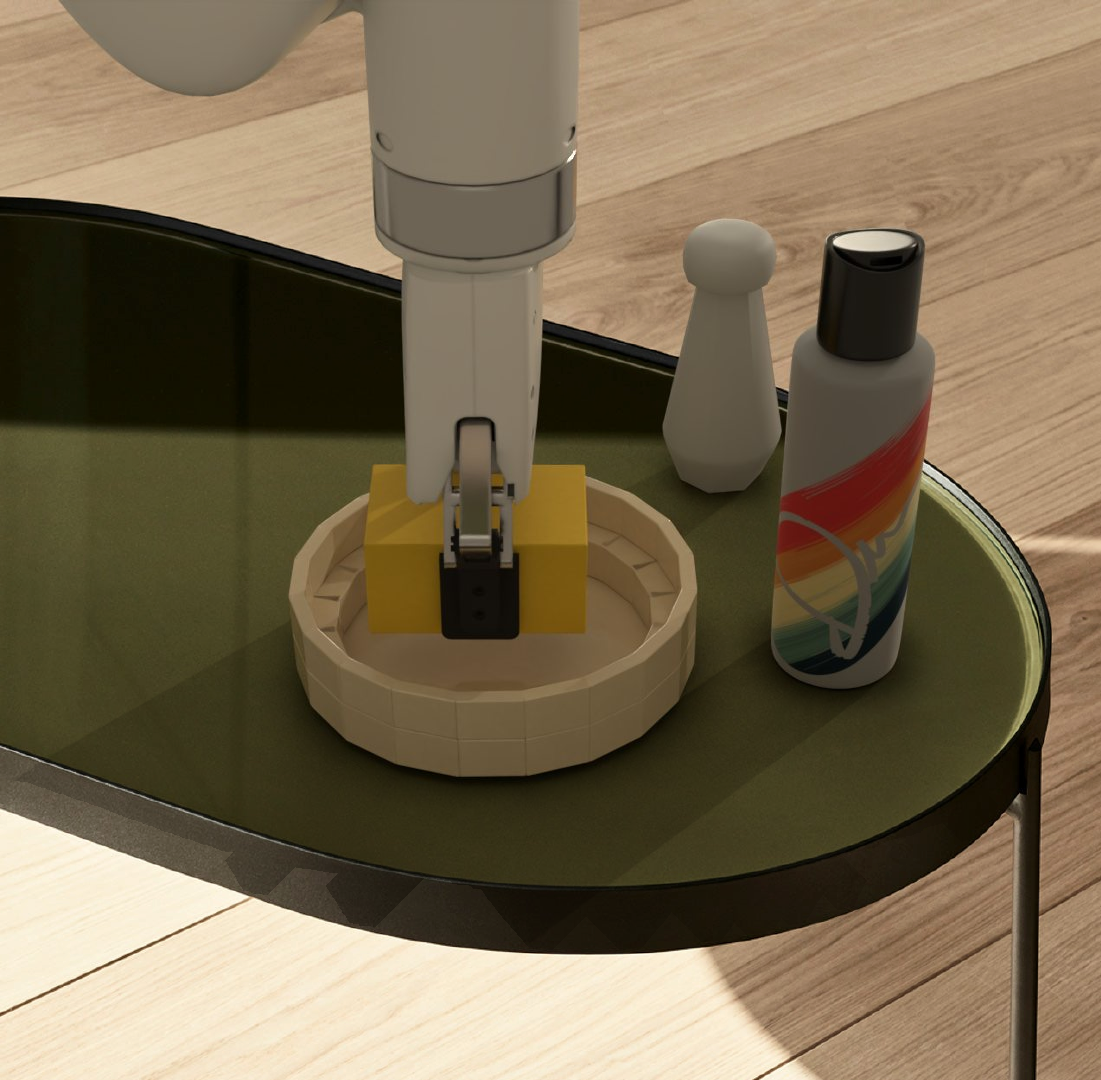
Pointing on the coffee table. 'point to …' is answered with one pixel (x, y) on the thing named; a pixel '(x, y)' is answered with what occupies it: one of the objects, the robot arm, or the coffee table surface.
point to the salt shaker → (725, 361)
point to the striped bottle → (853, 463)
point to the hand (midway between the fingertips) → (482, 584)
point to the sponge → (538, 527)
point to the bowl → (502, 654)
